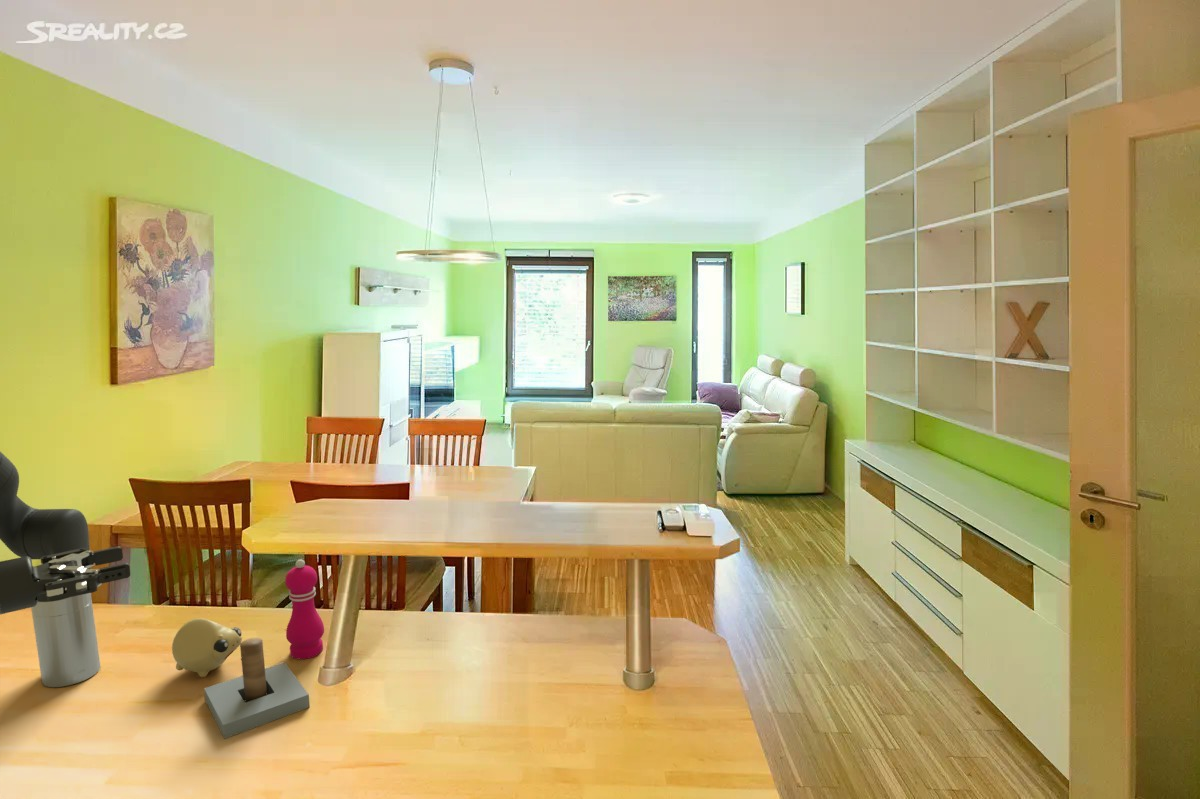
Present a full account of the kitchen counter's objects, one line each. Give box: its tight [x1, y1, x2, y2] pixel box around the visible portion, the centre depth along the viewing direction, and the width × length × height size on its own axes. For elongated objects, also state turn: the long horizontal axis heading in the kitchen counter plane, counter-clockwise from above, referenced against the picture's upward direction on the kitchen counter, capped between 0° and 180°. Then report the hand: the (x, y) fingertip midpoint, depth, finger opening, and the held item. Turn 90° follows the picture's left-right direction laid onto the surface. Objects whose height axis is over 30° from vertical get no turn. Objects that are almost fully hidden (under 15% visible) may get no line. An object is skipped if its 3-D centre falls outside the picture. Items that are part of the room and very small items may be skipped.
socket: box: [203, 661, 310, 739], centre depth 131 cm, size 14×14×2 cm
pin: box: [239, 637, 268, 703], centre depth 131 cm, size 4×4×12 cm
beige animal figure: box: [171, 617, 243, 678], centre depth 142 cm, size 10×12×11 cm
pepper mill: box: [284, 559, 325, 660], centre depth 148 cm, size 7×7×20 cm
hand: (125, 560), depth 115 cm, fingers open, 8 cm apart
